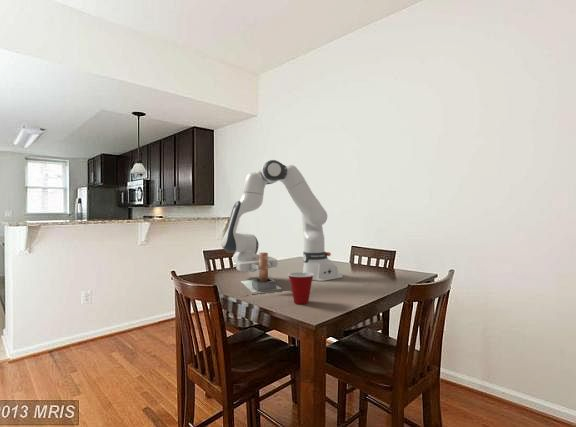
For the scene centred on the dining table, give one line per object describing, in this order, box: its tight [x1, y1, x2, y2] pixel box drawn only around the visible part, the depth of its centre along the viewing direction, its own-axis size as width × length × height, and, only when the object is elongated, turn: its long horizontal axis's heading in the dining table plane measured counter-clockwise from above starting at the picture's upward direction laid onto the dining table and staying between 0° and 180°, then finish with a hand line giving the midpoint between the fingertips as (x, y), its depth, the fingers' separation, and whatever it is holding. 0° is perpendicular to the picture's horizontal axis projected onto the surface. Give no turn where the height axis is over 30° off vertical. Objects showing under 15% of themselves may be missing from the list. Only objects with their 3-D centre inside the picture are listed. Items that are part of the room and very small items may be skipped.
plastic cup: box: [287, 271, 314, 305], centre depth 134 cm, size 11×11×12 cm
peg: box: [258, 252, 269, 282], centre depth 152 cm, size 4×4×14 cm
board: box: [240, 276, 283, 296], centre depth 157 cm, size 14×22×5 cm, turn 22°
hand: (264, 267), depth 151 cm, fingers closed on peg, 4 cm apart
